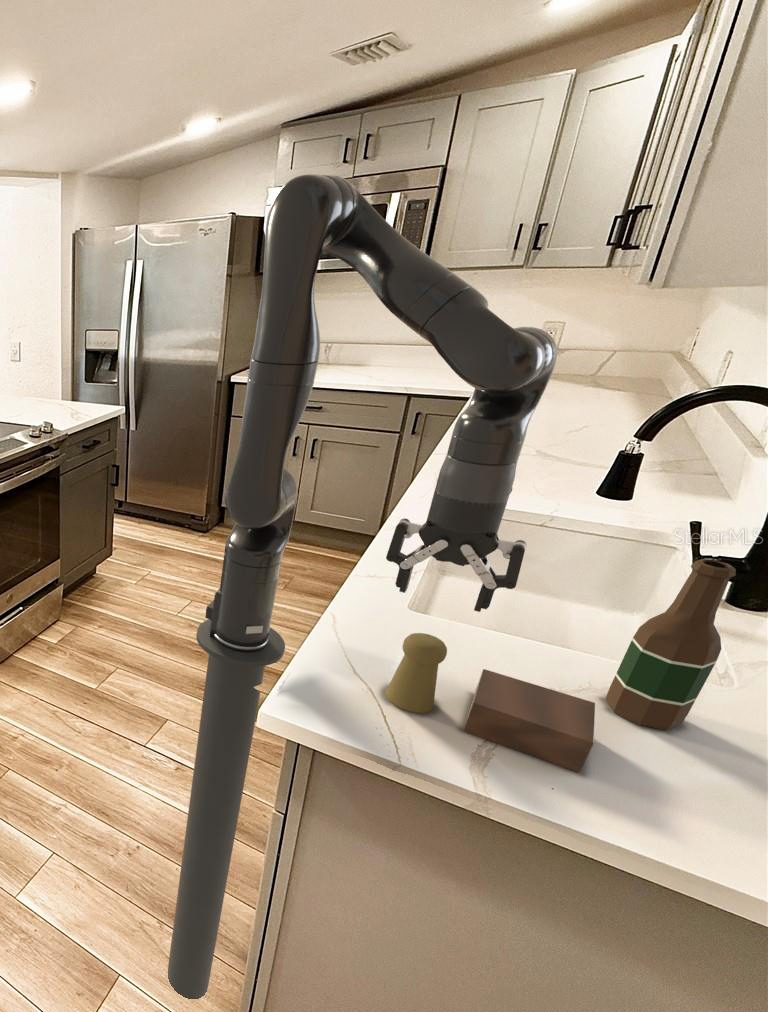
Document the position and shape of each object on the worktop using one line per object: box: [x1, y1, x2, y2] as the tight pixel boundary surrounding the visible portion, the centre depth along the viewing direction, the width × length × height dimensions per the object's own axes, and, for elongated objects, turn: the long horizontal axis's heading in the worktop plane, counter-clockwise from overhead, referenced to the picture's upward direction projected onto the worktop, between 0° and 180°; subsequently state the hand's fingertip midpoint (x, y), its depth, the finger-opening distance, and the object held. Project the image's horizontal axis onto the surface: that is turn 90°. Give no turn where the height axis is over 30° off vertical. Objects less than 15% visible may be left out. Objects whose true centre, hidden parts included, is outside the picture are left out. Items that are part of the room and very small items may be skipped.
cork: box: [384, 632, 448, 714], centre depth 90 cm, size 6×6×11 cm
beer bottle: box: [605, 558, 737, 731], centre depth 83 cm, size 8×8×24 cm
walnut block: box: [463, 668, 596, 774], centre depth 85 cm, size 12×10×5 cm
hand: (439, 599), depth 85 cm, fingers open, 8 cm apart
